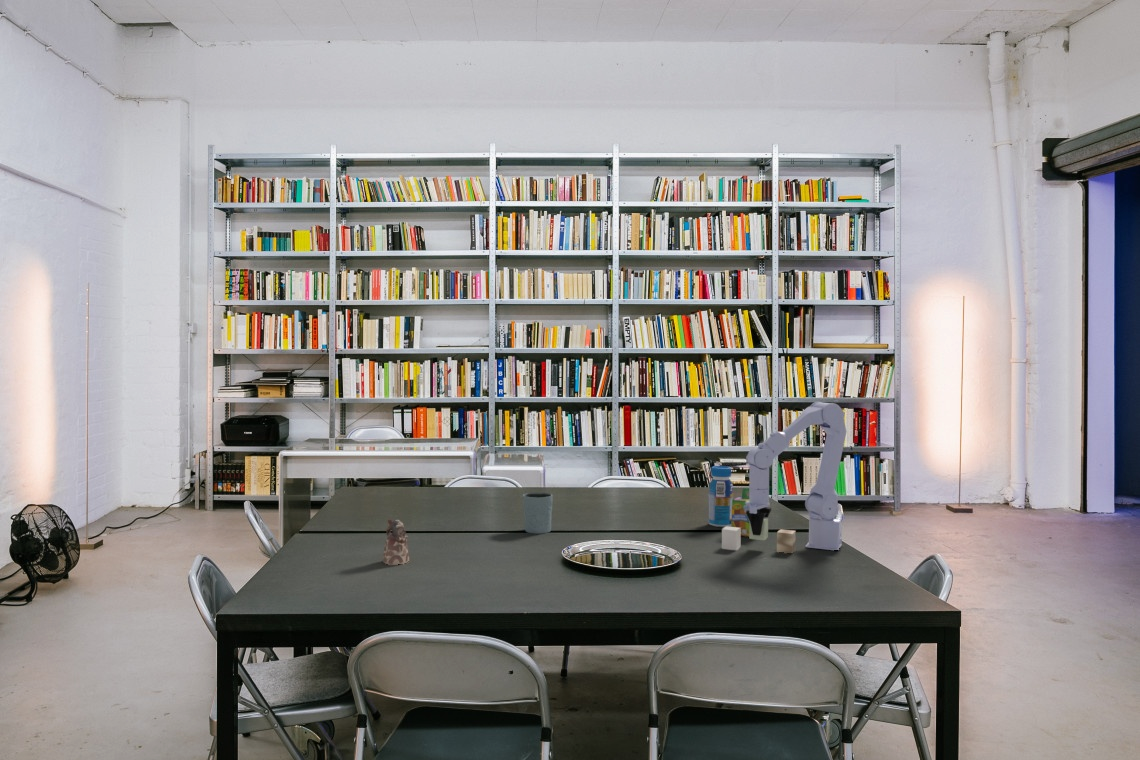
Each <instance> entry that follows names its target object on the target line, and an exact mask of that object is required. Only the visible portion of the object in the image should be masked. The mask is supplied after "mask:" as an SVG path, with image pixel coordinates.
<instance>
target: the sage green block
mask: <svg viewBox="0 0 1140 760" xmlns="http://www.w3.org/2000/svg"><path fill="white" fill-rule="evenodd" d="M767 538H769V516H768V517H764V520H763V524H762V530H761V534H760V536H759V535H753V533H752V528H751V524H750V521H749V540H758V541H766V540H767Z"/></svg>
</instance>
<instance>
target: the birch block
mask: <svg viewBox="0 0 1140 760" xmlns="http://www.w3.org/2000/svg"><path fill="white" fill-rule="evenodd" d="M796 532H797V531H796V530H792V529H791V530H790V529H782V528H781V529H779V530H778V531H777V532H776V553H779V552H784V553H783V554H787V553H793V552H794V551H795V552H796V540H797V539H796V534H797V533H796ZM795 552H794V553H795ZM794 553H793V554H794Z"/></svg>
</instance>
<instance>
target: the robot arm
mask: <svg viewBox="0 0 1140 760" xmlns="http://www.w3.org/2000/svg"><path fill="white" fill-rule="evenodd" d="M844 418H845V412H844V410H843V408H841V406H840V405H838V404H837V403H833V402H832V403H828V402H821V401H815V402H813V403H812V404H810V405H809V406H807V407H806V408H804V411H803V412H802V413H801V414H800V415H798V416H797V418H795V419H794V420H793V421H792V422H791V423H790V424H789V425H788V426H787V427H786V428H785V429H783V430H782V431H775V432H771V433H769V437H768V438H767V439H766V440H764V441H763V442H760V443H758V445H757V446H758V447H753V448H751V449H750V450H749V451H748V453H747V454H746V456H745V461H746V462H747V464H748V465H749V475H748V477H749V482H748V483H749V484H748V485H749V488H748V489H749V492H748V494H749V495H748V496H749V501H746V502H745V504H747V505H749V507H750V510H747V511H746V514H747V516H748V518H749V521H750V524H751V528H752V533H753V535H759V536H760V534H761V530H762V524H763V520H764V517H768V518H769V515H770V514H771V511H772V508H771V507H770V467H771V466H772V464H773V463H774V459H775V458H777V456H779V455H781V453H783V451H785V450H786V449H787V448H789V447H790V443H791V440H792V439H793V438H795V437H796V436H798V435H799V434H801V433H802V432H804V431H805V430H806V429H807V428H808V427H810V426H814V425H818V426H820V428H821V429H822V430H823V432H825V435H826V437H825V441H824V446H823V451H822V455H821V460H820V465H819V470H818V474H817V478H816V479H817V480H816V483H815V485H814V486H812V488H810V492H809V494H808V496H807V497H806V499H805V502H804V506H805V509H806V510H807V512H808V516H809V519H808V542H807V544H806V545H805V548H811V549H820V550H827V551H829V550H830V551H834V550H838V551H839V550H840V549H839V548H841V547H842V546H843V544H842V540H843V537H842V535H843V534H842V532H843V531H842V530H843V527H842V525H843V524H842V523H843V522H842V520H841V519H837V518H835V517H836V516H837V515H838V514H839V509H840V508H839V507H840V506H839V503H838V501H839V500H838V499H839V494H838V492H837V491H836V489H835V487H836V483H837V479H838V473H839V469H840V465H841V460H842V455H843V449H844V445H845V440H846V435H847V428H846V424H845V419H844Z"/></svg>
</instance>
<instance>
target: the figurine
mask: <svg viewBox="0 0 1140 760" xmlns="http://www.w3.org/2000/svg"><path fill="white" fill-rule="evenodd" d="M387 523H388V524H389V525H388V526H387V528H386V540H385V544H384V547H383V554H382V561H383V564H384V563H385V564H384V565H386V564H388V565H387V566H399V565H398V564H403V565H405V564H404V563H407V562H408V561H409V562H410V554H409V547H408V539H407V538H409V537H408V536H409V535H407V532H406V529H405V527H404V525H405V524H404V523H403V522H402V521H401V520H400V519H395V520H394V519H391V518H389V519H388V520H387ZM409 562H408V563H409ZM408 563H407V564H408Z"/></svg>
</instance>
